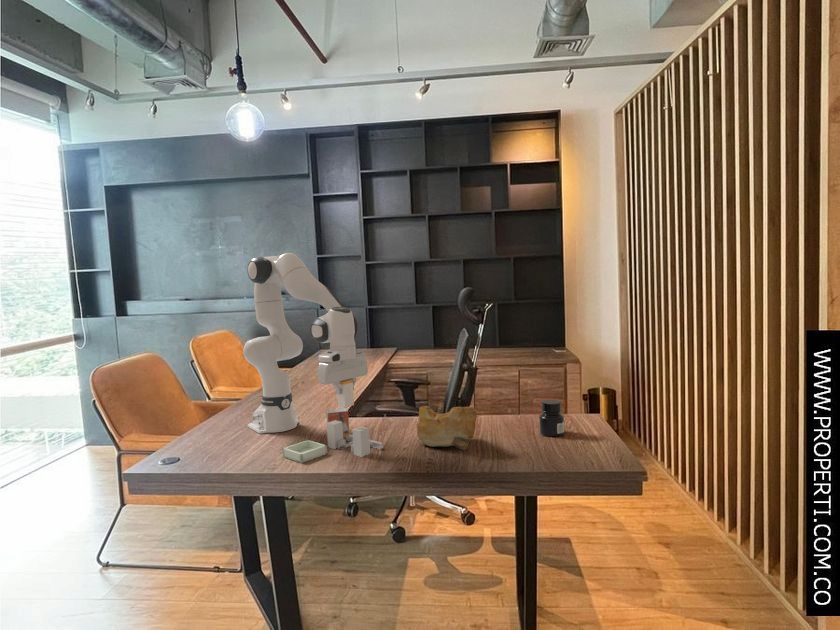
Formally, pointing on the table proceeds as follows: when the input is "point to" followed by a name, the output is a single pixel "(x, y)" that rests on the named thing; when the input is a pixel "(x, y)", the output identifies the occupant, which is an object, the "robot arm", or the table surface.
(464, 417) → the rough brown rock
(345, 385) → the block
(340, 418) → the small box
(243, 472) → the table surface
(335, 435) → the block
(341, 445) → the rail
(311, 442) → the tray
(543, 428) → the ink bottle
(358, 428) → the block
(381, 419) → the table surface
